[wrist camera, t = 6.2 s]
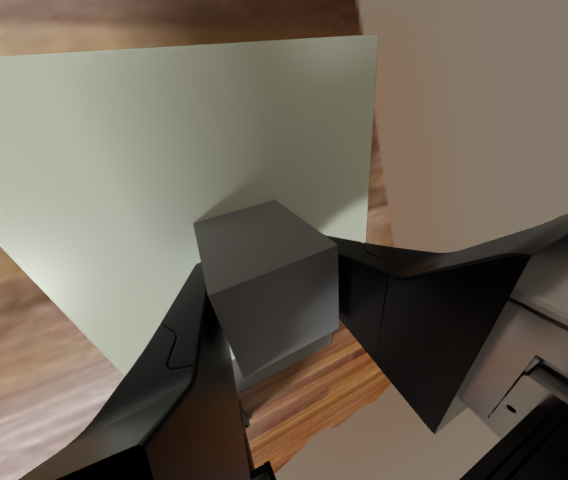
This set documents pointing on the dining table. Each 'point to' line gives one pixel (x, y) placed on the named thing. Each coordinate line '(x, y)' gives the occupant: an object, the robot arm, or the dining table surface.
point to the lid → (189, 184)
